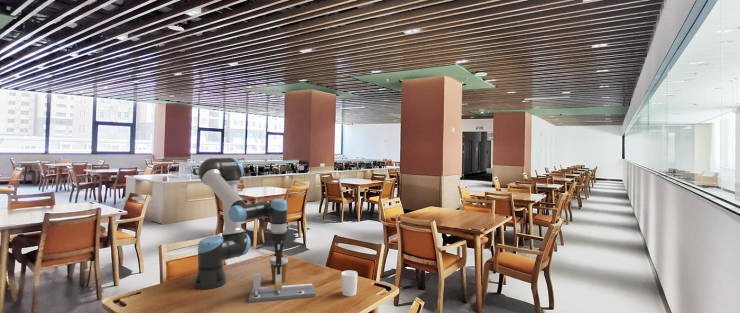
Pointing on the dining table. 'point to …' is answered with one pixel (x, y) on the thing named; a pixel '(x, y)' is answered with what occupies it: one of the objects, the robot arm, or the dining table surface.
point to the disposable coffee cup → (284, 268)
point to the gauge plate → (285, 291)
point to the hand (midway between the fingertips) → (278, 276)
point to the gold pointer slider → (278, 283)
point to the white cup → (349, 282)
